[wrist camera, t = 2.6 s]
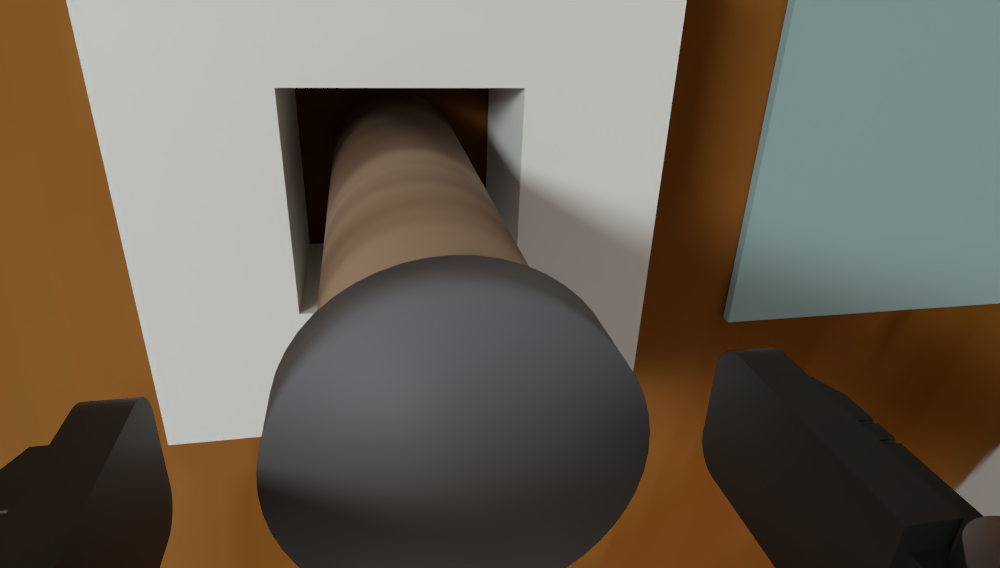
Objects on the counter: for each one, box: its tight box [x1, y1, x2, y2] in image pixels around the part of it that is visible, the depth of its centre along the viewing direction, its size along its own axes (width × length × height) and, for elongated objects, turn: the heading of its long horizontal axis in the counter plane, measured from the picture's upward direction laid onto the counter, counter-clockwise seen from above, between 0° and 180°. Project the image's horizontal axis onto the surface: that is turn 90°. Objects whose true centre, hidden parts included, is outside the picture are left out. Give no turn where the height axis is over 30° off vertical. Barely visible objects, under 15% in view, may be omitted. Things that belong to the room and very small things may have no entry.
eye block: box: [66, 0, 687, 445], centre depth 20 cm, size 14×14×5 cm
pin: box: [256, 92, 650, 568], centre depth 15 cm, size 5×5×15 cm
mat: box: [723, 0, 1000, 322], centre depth 25 cm, size 14×14×1 cm
